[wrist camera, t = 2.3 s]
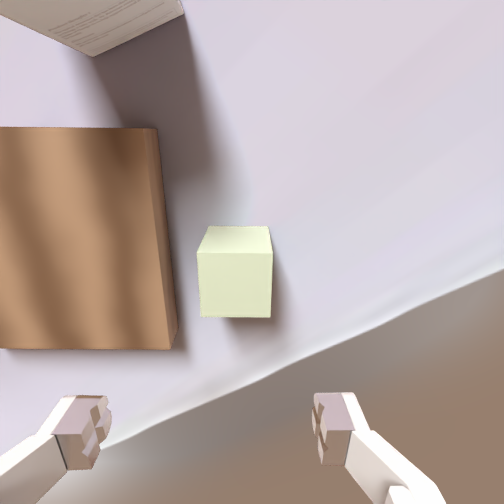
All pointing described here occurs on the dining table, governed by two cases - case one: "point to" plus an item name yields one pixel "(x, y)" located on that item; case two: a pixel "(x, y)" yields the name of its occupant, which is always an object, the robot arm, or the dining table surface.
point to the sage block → (235, 271)
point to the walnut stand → (84, 240)
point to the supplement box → (91, 20)
